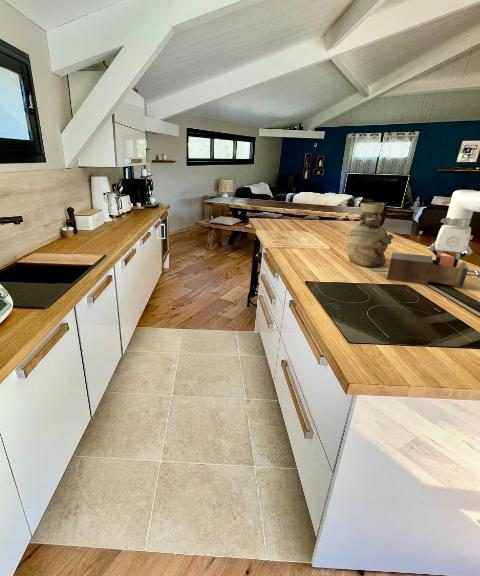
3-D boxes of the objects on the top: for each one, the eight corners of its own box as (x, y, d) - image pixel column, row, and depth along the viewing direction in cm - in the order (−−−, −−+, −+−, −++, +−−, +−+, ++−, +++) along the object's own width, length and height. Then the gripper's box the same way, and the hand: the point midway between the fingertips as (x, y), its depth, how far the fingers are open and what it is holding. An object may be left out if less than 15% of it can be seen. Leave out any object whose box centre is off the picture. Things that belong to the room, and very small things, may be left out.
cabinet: (426, 277, 139) (432, 256, 136) (427, 285, 130) (433, 263, 126) (388, 272, 147) (392, 252, 144) (386, 279, 137) (391, 258, 134)
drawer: (474, 281, 130) (480, 263, 127) (478, 290, 121) (484, 270, 118) (420, 274, 140) (425, 257, 137) (421, 281, 131) (425, 264, 128)
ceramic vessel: (395, 269, 151) (409, 205, 140) (348, 267, 155) (358, 205, 145) (382, 259, 168) (394, 201, 158) (340, 257, 173) (348, 201, 162)
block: (450, 266, 130) (453, 256, 129) (451, 269, 127) (454, 259, 125) (437, 265, 133) (440, 255, 131) (438, 267, 129) (441, 257, 128)
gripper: (431, 222, 125) (420, 266, 131) (487, 225, 116) (472, 272, 122) (430, 220, 131) (420, 262, 137) (483, 223, 122) (469, 267, 128)
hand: (444, 266), depth 130 cm, fingers closed on block, 4 cm apart
